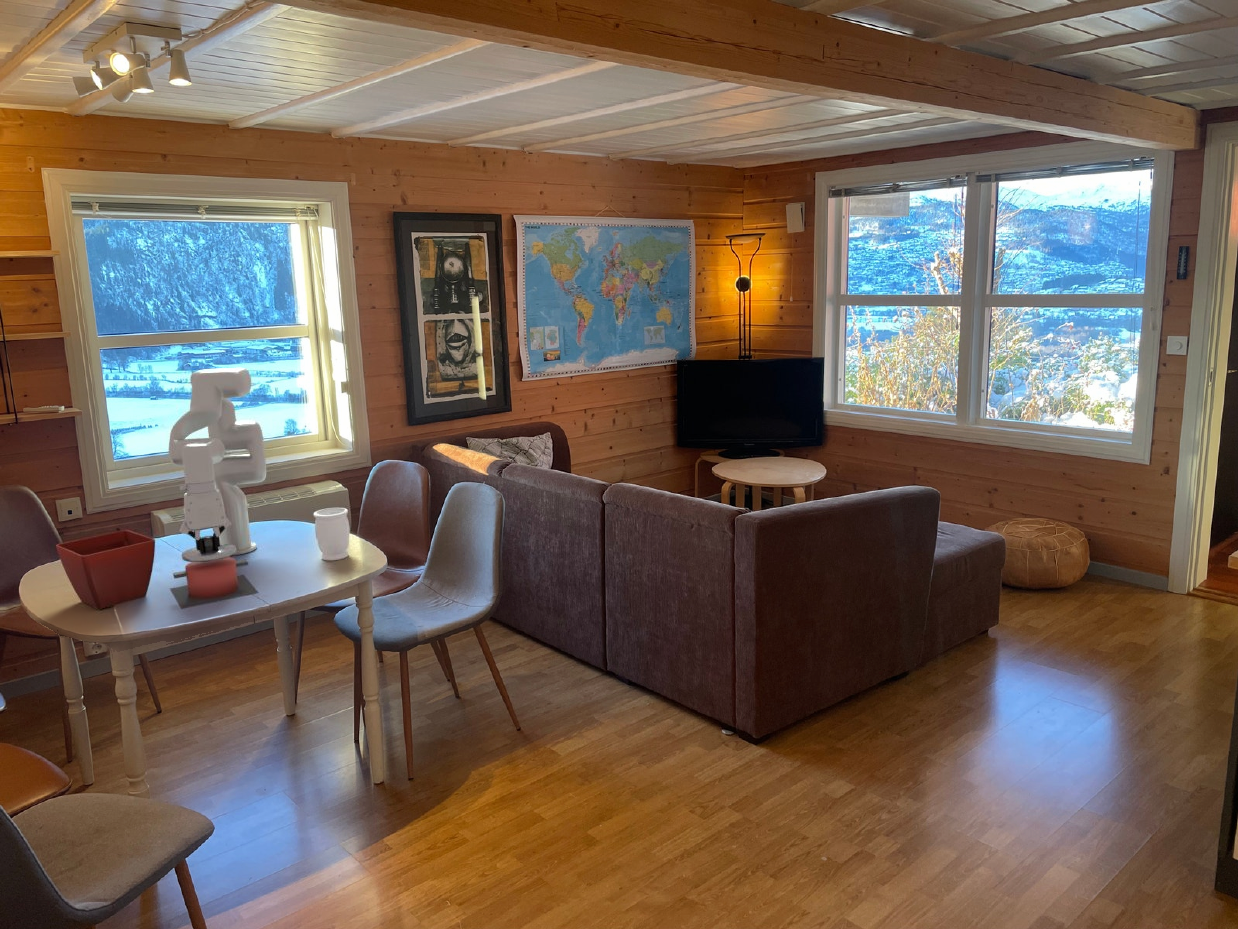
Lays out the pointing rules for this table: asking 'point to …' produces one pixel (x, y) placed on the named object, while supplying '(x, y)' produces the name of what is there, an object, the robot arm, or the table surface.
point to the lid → (208, 551)
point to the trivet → (187, 601)
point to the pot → (211, 577)
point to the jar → (332, 533)
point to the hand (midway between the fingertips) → (208, 550)
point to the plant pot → (109, 567)
